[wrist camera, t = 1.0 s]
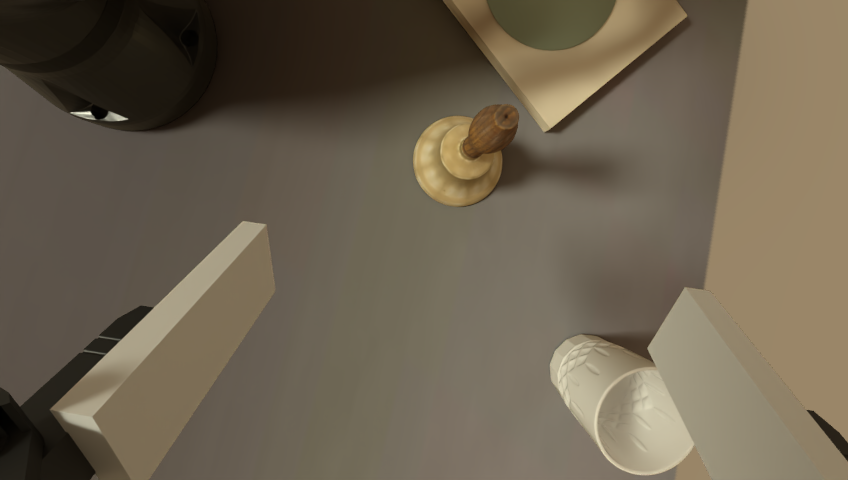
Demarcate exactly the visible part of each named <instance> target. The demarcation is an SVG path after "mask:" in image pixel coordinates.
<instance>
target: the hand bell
mask: <svg viewBox="0 0 848 480" xmlns="http://www.w3.org/2000/svg"><path fill="white" fill-rule="evenodd" d="M518 121H519V114H518V111H517V109H516V108H515V107H514V106H512V105H508V104H504V105H491V106H488V107H486V108H484V109H483V110H481V111H480V112H479V113H478V114H477V115H476V116H475V118H474V119H473V118H470V117H466V116H449V117H446V118H442V119H440V120H438V121H436V122H434V123H433V124H431V125H430V126H429V127H428V128H427V129H426V130H425V131H424V132H423V133H422V135H421V136H420V138H419V140H418V142H417V144H416V147H415V150H414V156H413V166H414V172H415V175H416V178H417V181H418V182H419V184H420V186H421V187H422V189H423V190H424V191H425V192H426V193H427V194H428V195H429V196H430V197H431V198H433V199H434V200H436V201H438V202H439V203H442V204H445V205H448V206H456V207H461V206H468V205H472V204H474V203H477V202H479V201H480V200H482V199H484V198H485V197H486V196H487V195H488V194H489V193H490V192H491V191H492V190H493V189H494V187H495V186H496V184H497V182H498V180H499V178H500V175H501V171H502V152H501V150H502V149H504V148H505V147H506V146H508V145H509V144H510V142H511V141H512V140H513V138H514V137H515V134H516V131H517V128H518Z"/></svg>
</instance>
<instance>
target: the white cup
mask: <svg viewBox="0 0 848 480" xmlns="http://www.w3.org/2000/svg"><path fill="white" fill-rule="evenodd" d="M550 374H551V381H552V383H553V385H554V386H555V388H556V389H557V391H558V393H559V394H560V396H561V397H562V398H563V400H564V402H565V404H566V405H567V406H568V408H569V409H570V411H571V412H572V413H573V415H574V416H575V418H576V419H577V420H578V421H579V423H580V424H581V425H582V427H583V428H584V429H585V430H586V432H587V433H588V434H589V436H590V437H591V438H592V440H593V441H594V442H595V443H596V445H597V446H598V447H599V449H600V450H601V451H602V453H603V454H604V455H605V457H606V458H607V459H608V460H609V461H610V462H611V463H612V464H614V465H615V466H616V467H618V468H620V469H621V470H623V471H626V472H628V473H632V474H636V475H654V474H658V473H662V472H665V471H667V470H669V469H671V468H673V467H675V466H676V465H678V464H679V463H680V462H681V461H682V460H683V459H685V457H687V455H688V454H689V453H690V452H691V450H692V449H693V447H694V446H695V445H694V442H693V440H692V438H691V436H690V434H689V432H688V430H687V428H686V426H685V424H684V422H683V420H682V418H681V416H680V414H679V412H678V410H677V408H676V406H675V404H674V402H673V400H672V398H671V396H670V394H669V392H668V390H667V388H666V386H665V384H664V382H663V380H662V378H661V376H660V374H659V372H658V369H657V367H656V365H655V363H654V362H652V361H650V360H648V359H646V358H644V357H642V356H640V355H638V354H636V353H634V352H632V351H630V350H627V349H625V348H623V347H621V346H618V345H616V344H613V343H610V342H607V341H606V340H604V339H602V338H600V337H598V336H593V335H584V334H580V335H577V336H575V337H572V338H569V339H566V340H565V341H564V342H563V343H562V344H561V345H560V346H559V347H558V348H557V349H556V350H555V352H554V355H553V358H552V360H551V363H550Z"/></svg>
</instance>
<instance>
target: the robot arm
mask: <svg viewBox="0 0 848 480" xmlns="http://www.w3.org/2000/svg"><path fill="white" fill-rule="evenodd" d="M216 56H217V38H216V31H215V26H214V22H213V19H212V16H211V13H210V11H209V9H208V7H207V4H206V3H205V1H204V0H0V65H2V66H4V67H5V68H7V69H8V70H9V71H11V72H12V73H13V74H15V75H16V76H17V77H18V78H20V79H21V80H22V81H24V82H25V83H26V84H27V85H29V86H30V87H31V88H33V89H34V90H35V91H37V92H38V93H39V94H40V95H42V96H43V97H44V98H46V99H47V100H48V101H49V102H51V103H52V104H54V105H55V106H56V107H58V108H60V109H61V110H63V111H65V112H67V113H69V114H71V115H73V116H75V117H77V118H80V119H82V120H85V121H88V122H91V123H94V124H98V125H101V126H104V127H108V128H111V129H117V130H125V131H138V130H146V129H152V128H155V127H159V126H162V125H164V124H167V123H169V122H171V121H173V120H175V119H177V118H178V117H180V116H181V115H183V114H184V113H185V112H187V111H188V110H189V109H190V108H191V107H192V106H193V105H194V104H195V103H196V102H197V101H198V100H199V98H200V97H201V96H202V94H203V93H204V91H205V89H206V88H207V86H208V84H209V82H210V79H211V77H212V74H213V71H214V67H215V63H216ZM275 291H276V290H275V283H274V276H273V269H272V261H271V254H270V247H269V239H268V232H267V225H266V224H259V223H252V222H245V221H243V222H242V223H241V224H240V225H239V226H237V227H236V228H235V229H234V230H233V231H232V232H231V233H230V234H229V235H228V236H227V237H226V238H225V239H224V240H223V241H222V242H221V243H220V244H219V245H218V246H217V247H216V248H215V249H214V250H213V251H212V252H211V253H210V254H209V255H208V256H207V257H206V258H205V259H204V260H203V261H202V262H201V263H200V264H199V265H198V266H196V267H195V268H194V269H193V270H192V271H191V272H190V273H189V274H188V275H187V276H186V277H185V278H184V279H183V280H182V281H181V282H180V283H179V284H178V285H177V286H176V287H175V288H174V289H173V290H172V291H171V292H170V293H169V294H168V295H167V296H166V297H165V298H164V299H163V300H162V301H161V302H160V303H159V304H158V305H157V306H155V307H154V308H153V307H147V306H139V307H138V308H136V309H134V310H132V311H130V312H129V313H127V314H125V315H123V316H121V317H120V318H118V319H117V320H115V321H114V322H113V323H112V324H111V325H110V326H109V327H108V328H107V329H106V330H104V331H103V332H102V333H101V334H100V335H99V338H98V339H94V340H93V341H92V342H91V343H90V344H89V345H88V346H87V347H86V348H85V349H84V352H83V353H79V354H78V355H77V356H76V357H75V358H74V359H72V360H71V361H70V362H69V363H68V364H67V365H66V366H65V367H64V368H62V369H61V370H60V371H59V372H58V373H57V374H56V375H55V376H54V377H53V378H51V379H50V380H49V381H48V382H47V383H46V384H45V385H44V386H43V387H41V388H40V389H39V390H38V391H37V392H36V393H35V394H34V395H33V396H32V397H30V398H29V399H28V400H27V401H26V402H25V403H24V404H23V405H22V406H20V407H19V405H18V404H17V403H16V402H15V400H14V399H13V398H12V396H11V395H10V394H9V393H8V392H7V391H5V390H4V389H2V388H0V480H90V479H91V478H92V476H93V475H94V474H96V475H97V477H98V478H99V480H149V478H150V477H151V475H152V474H153V472H154V471H155V470H156V468H157V467H158V465H159V464H160V462H161V461H162V459H163V458H164V456H165V455H166V453H167V452H168V450H169V449H170V447H171V446H172V444H173V443H174V441H175V440H176V438H177V437H178V435H179V434H180V432H181V431H182V429H183V428H184V426H185V425H186V423H187V422H188V420H189V419H190V417H191V416H192V414H193V413H194V411H195V410H196V408H197V407H198V406H199V404H200V403H201V401H202V400H203V398H204V397H205V395H206V394H207V392H208V391H209V389H210V388H211V386H212V385H213V383H214V382H215V380H216V379H217V377H218V376H219V374H220V373H221V371H222V370H223V368H224V367H225V365H226V364H227V362H228V361H229V359H230V358H231V356H232V355H233V353H234V352H235V350H236V349H237V347H238V346H239V344H240V343H241V342H242V340H243V339H244V337H245V336H246V334H247V333H248V331H249V330H250V328H251V327H252V325H253V324H254V322H255V321H256V319H257V318H258V316H259V315H260V313H261V312H262V310H263V309H264V307H265V306H266V304H267V303H268V301H269V300H270V298H271V297H272V295H273V294H274V292H275ZM647 349H648V351H649V353H650V355H651V357H652V359H653V361H654V363H655V365H656V367H657V369H658V372H659V374H660V376H661V378H662V380H663V382H664V384H665V386H666V388H667V390H668V392H669V394H670V396H671V398H672V400H673V402H674V404H675V406H676V408H677V410H678V412H679V414H680V416H681V418H682V420H683V422H684V424H685V426H686V428H687V430H688V432H689V434H690V436H691V438H692V440H693V442H694V445H695V447H696V449H697V451H698V452H699V455H700V457H701V459H702V461H703V463H704V465H705V467H706V469H707V471H708V473H709V475H710V477H711V479H712V480H848V443H847V441H846V440H845V439H844V438H843V437H842V436H841V434H840V433H839V432H838V431H836V430H835V429H834V428H833V427H832V426H831V425H829V424H828V423H827V422H826V421H825V420H823V419H822V418H821V417H820V416H818V415H817V414H816V413H815V412H814V411H810V410H806V409H805V408H804V407H803V405H802V404H801V403H800V402H799V400H798V399H797V398H796V397H795V395H794V394H793V393H792V392H791V390H790V389H789V388H788V387H787V386H786V384H785V383H784V382H783V381H782V379H781V378H780V377H779V376H778V374H777V373H776V372H775V371H774V370H773V368H772V367H771V366H770V364H769V363H768V362H767V361H766V359H765V358H764V357H763V356H762V355H761V353H760V352H759V351H758V349H757V348H756V347H755V346H754V344H753V343H752V342H751V341H750V339H749V338H748V337H747V336H746V334H745V333H744V332H743V331H742V330H741V328H740V327H739V326H738V325H737V323H736V322H735V321H734V320H733V318H732V317H731V316H730V315H729V313H728V312H727V311H726V310H725V308H724V307H723V306H722V305H721V303H720V302H719V301H718V300H717V298H716V297H715V296H714V295H713V293H712V292H711V291H708V290H701V289H695V288H688V287H685V288H684V290H683V291H682V293H681V294H680V296H679V298H678V299H677V301H676V302H675V304H674V306H673V307H672V309H671V311H670V312H669V314H668V315H667V317H666V319H665V320H664V322H663V324H662V325H661V327H660V328H659V330H658V332H657V333H656V335H655V337H654V338H653V340H652V341H651V343H650V345H649V346H648V348H647Z"/></svg>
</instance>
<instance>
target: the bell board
mask: <svg viewBox="0 0 848 480" xmlns="http://www.w3.org/2000/svg"><path fill="white" fill-rule="evenodd" d="M443 2H444V3H445V4H446V6H447V7H448V8H449V10H450V11H451V12H452V13H453V15H454V16H455V17H456V19H457V20H458V21H459V22H460V24H461V25H462V26H463V28H464V29H465V30H466V32H467V33H468V34H469V35H470V37H471V38H472V39H473V41H474V42H475V43H476V45H477V46H478V47H479V48H480V50H481V51H482V52H483V54H484V55H485V56H486V57H487V59H488V60H489V61H490V63H491V64H492V65H493V67H494V68H495V69H496V70H497V72H498V73H499V74H500V76H501V77H502V78H503V80H504V81H505V82H506V83H507V85H508V86H509V87H510V89H511V90H512V91H513V92H514V94H515V95H516V96H517V98H518V99H519V100H520V102H521V103H522V104H523V105H524V107H525V108H526V109H527V111H528V112H529V113H530V114H531V116H532V117H533V118H534V120H535V121H536V122H537V124H538V125H539V126H540V127H541V129H542V130H543V131H544V132H546V131H548V130H549V129H551V128H552V127H553V126H554V125H556V124H557V123H558V122H559V121H560V120H562V119H563V118H564V117H565V116H567V115H568V114H569V113H570V112H571V111H573V110H574V109H575V108H576V107H577V106H579V105H580V104H581V103H582V102H584V101H585V100H586V99H587V98H588V97H590V96H591V95H592V94H593V93H595V92H596V91H597V90H598V89H599V88H601V87H602V86H603V85H604V84H605V83H607V82H608V81H609V80H610V79H612V78H613V77H614V76H615V75H616V74H618V73H619V72H620V71H621V70H622V69H624V68H625V67H626V66H627V65H629V64H630V63H631V62H632V61H633V60H635V59H636V58H637V57H638V56H639V55H641V54H642V53H643V52H644V51H646V50H647V49H648V48H649V47H650V46H652V45H653V44H654V43H655V42H656V41H658V40H659V39H660V38H661V37H663V36H664V35H665V34H666V33H667V32H669V31H670V30H671V29H672V28H673V27H675V26H676V25H677V24H678V23H680V22H681V21H682V20H683V19H684V18H686V17H687V14H686V13H685V12H684V10H683V9H682V7H681V6H680V5H679V3H678V2H677V0H443Z"/></svg>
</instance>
